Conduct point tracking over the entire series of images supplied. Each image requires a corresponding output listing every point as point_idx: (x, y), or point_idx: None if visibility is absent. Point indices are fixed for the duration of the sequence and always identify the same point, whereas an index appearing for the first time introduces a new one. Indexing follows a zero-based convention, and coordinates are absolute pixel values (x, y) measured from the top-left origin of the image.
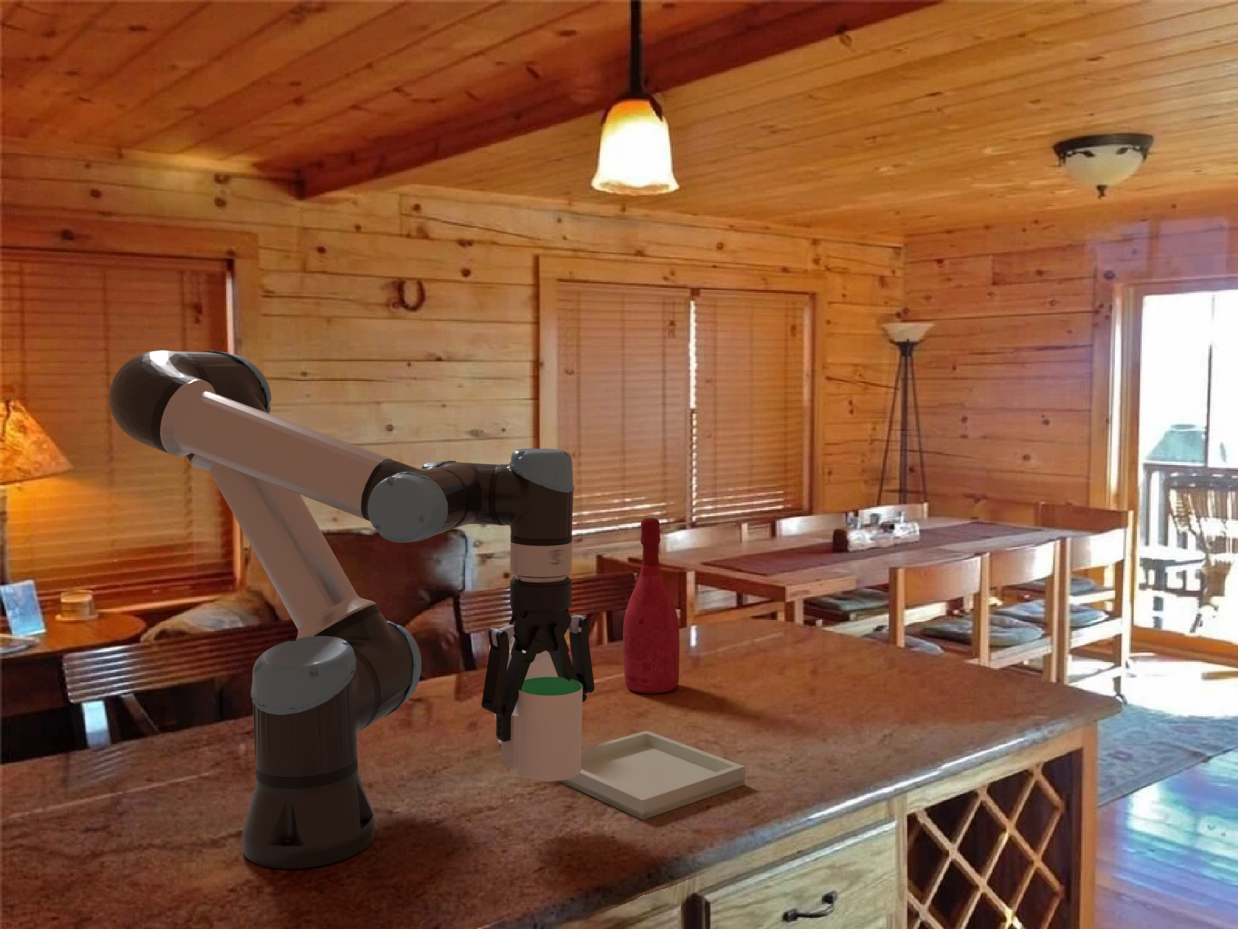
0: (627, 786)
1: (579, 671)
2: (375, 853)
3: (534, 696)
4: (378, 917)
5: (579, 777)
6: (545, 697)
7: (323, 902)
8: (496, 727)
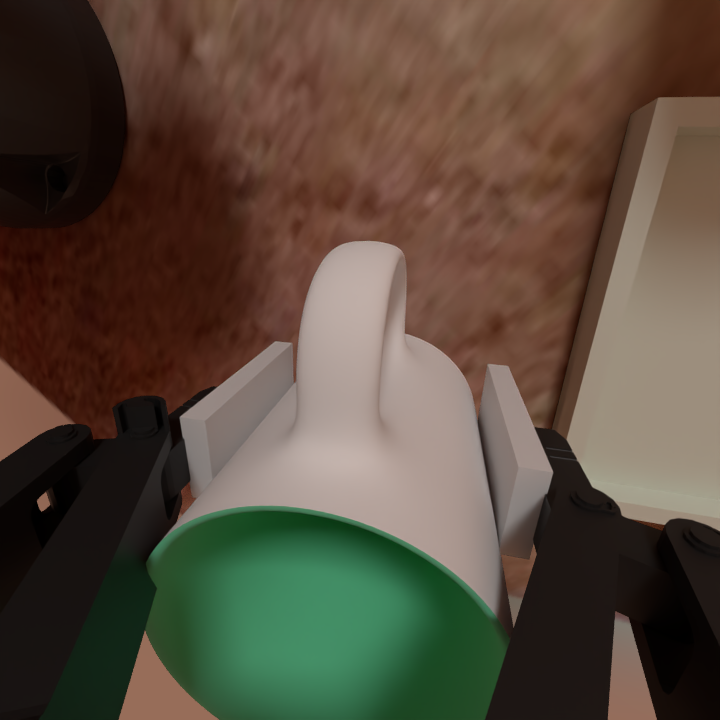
0: (666, 371)
1: (689, 699)
2: (105, 236)
3: (179, 666)
4: (66, 412)
5: (603, 279)
6: (214, 701)
7: (15, 329)
8: (182, 406)
